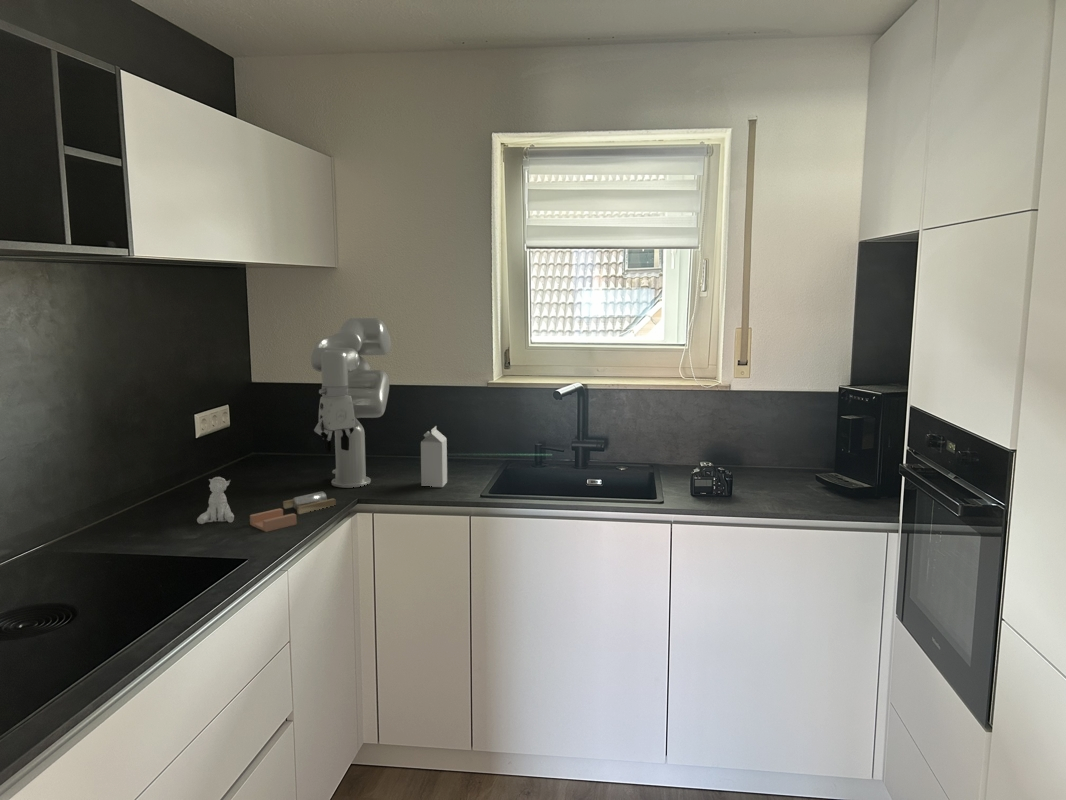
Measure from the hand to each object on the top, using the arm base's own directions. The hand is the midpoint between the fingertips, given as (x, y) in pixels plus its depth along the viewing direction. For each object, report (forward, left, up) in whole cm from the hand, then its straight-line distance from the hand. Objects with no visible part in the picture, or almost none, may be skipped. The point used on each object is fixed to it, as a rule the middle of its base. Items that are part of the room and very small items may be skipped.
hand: (337, 450), depth 232 cm
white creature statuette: (-8, -34, -16) cm, 38 cm away
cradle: (+8, -26, -15) cm, 31 cm away
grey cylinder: (0, -10, -14) cm, 17 cm away
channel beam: (0, -10, -15) cm, 18 cm away
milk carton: (+7, +32, -16) cm, 36 cm away
